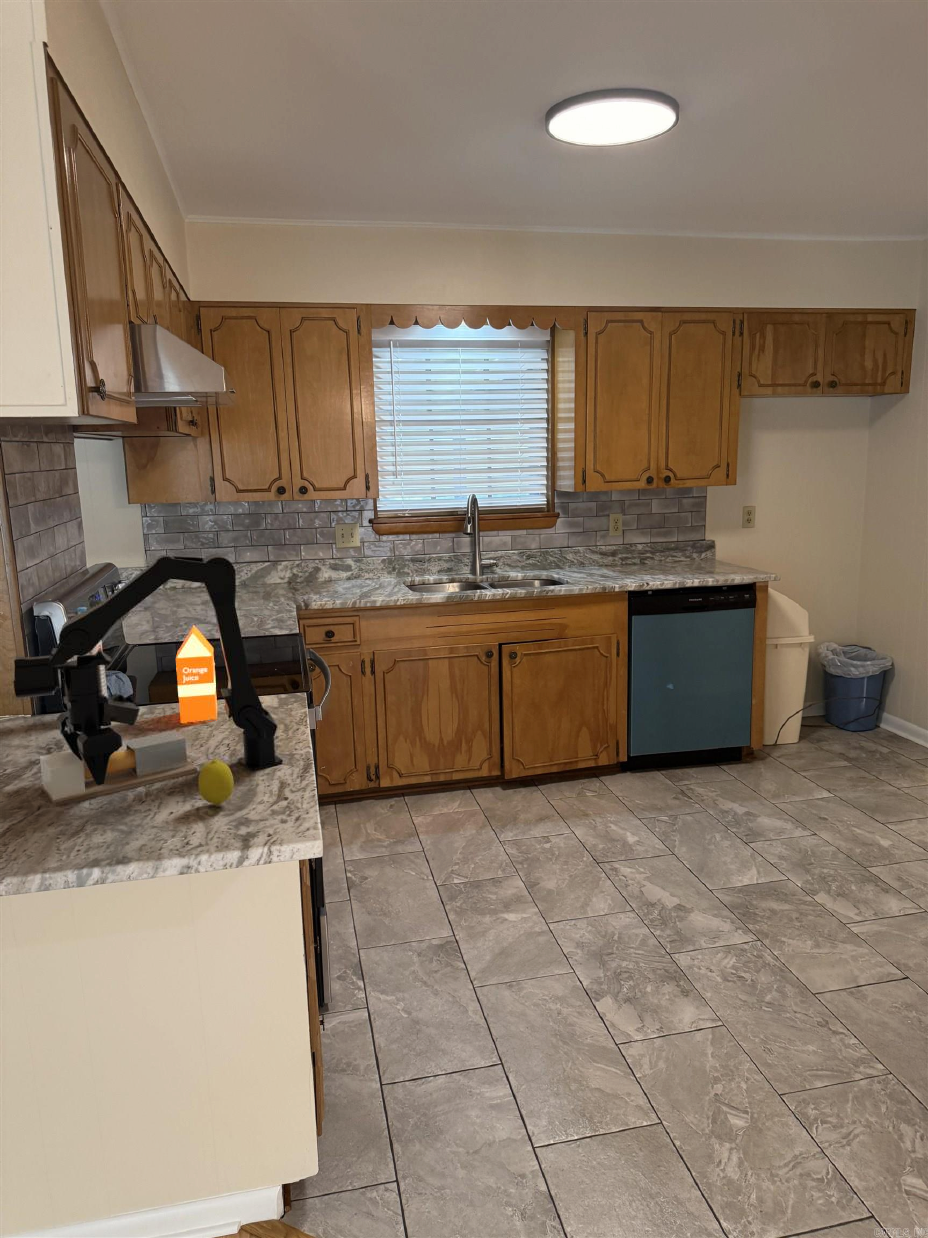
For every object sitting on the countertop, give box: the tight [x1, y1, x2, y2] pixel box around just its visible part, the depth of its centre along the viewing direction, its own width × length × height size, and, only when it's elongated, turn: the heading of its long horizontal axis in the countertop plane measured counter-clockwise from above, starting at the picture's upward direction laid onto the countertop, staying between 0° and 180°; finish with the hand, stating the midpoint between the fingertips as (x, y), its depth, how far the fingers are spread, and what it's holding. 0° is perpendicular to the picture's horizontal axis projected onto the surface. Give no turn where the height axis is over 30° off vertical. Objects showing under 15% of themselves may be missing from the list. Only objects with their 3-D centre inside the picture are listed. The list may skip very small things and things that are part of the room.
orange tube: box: [82, 749, 136, 780], centre depth 149 cm, size 4×13×4 cm, turn 128°
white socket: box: [39, 749, 86, 800], centre depth 143 cm, size 8×5×5 cm, turn 38°
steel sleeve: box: [124, 730, 188, 778], centre depth 152 cm, size 6×9×5 cm, turn 128°
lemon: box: [197, 759, 235, 807], centre depth 137 cm, size 6×6×8 cm
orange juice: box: [175, 625, 218, 724], centre depth 184 cm, size 8×9×20 cm
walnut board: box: [41, 760, 198, 807], centre depth 149 cm, size 10×24×1 cm, turn 128°
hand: (93, 776), depth 146 cm, fingers open, 9 cm apart
